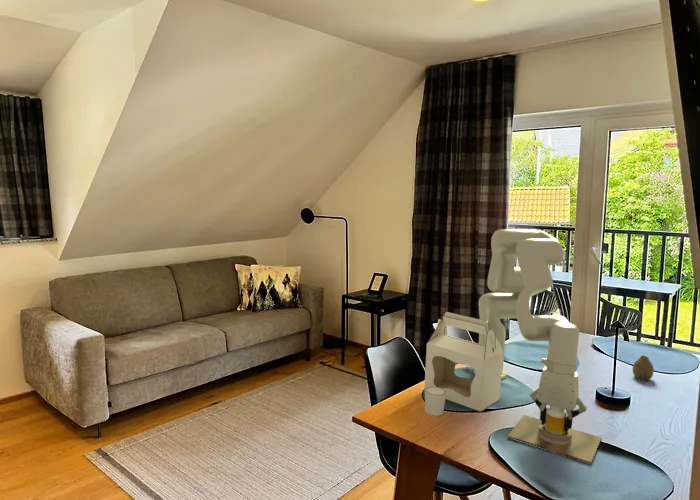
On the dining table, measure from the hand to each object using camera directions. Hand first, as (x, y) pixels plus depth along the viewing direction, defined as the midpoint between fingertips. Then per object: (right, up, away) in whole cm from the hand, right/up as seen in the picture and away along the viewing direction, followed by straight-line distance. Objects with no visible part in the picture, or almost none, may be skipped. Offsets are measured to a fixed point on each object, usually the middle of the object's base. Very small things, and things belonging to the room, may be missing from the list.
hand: (555, 425), depth 142 cm
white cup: (-32, -1, +15) cm, 36 cm away
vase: (+53, +1, +47) cm, 71 cm away
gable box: (-21, 0, +28) cm, 35 cm away
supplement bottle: (0, -3, 0) cm, 3 cm away
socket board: (0, -4, 0) cm, 4 cm away
